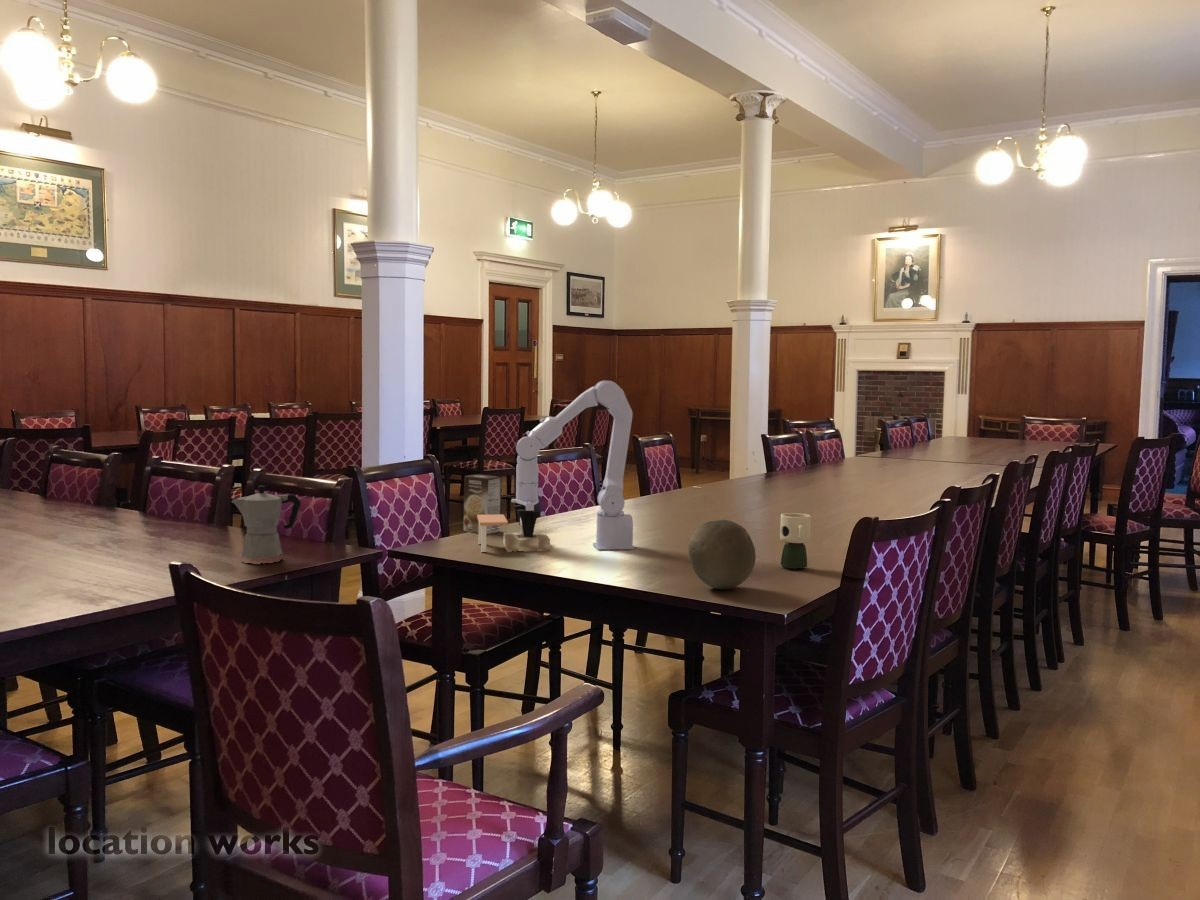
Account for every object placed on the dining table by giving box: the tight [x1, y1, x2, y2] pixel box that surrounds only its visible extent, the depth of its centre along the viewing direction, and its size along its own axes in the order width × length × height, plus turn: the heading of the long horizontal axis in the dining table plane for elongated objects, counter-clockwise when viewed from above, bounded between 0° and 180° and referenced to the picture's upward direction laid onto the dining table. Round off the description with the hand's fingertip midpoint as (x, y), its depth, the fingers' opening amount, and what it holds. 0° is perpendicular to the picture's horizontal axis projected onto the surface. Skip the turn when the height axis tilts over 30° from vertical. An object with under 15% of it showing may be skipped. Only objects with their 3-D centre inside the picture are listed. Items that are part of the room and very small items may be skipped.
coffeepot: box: [231, 484, 302, 558], centre depth 216 cm, size 15×9×18 cm, turn 115°
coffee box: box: [462, 473, 502, 535], centre depth 262 cm, size 9×6×16 cm
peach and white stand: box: [477, 513, 509, 553], centre depth 237 cm, size 7×13×8 cm, turn 11°
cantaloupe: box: [688, 519, 757, 590], centre depth 195 cm, size 14×14×15 cm
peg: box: [519, 518, 535, 538], centre depth 239 cm, size 4×4×8 cm
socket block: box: [503, 531, 551, 553], centre depth 239 cm, size 11×11×3 cm
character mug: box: [779, 512, 812, 570], centre depth 219 cm, size 11×7×13 cm, turn 3°
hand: (526, 534), depth 239 cm, fingers open, 7 cm apart
